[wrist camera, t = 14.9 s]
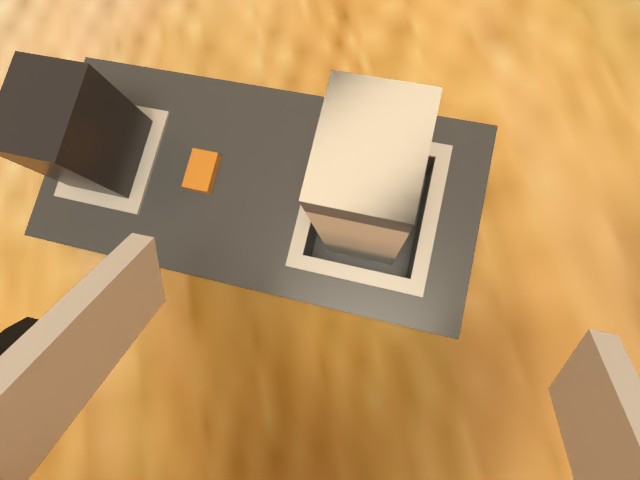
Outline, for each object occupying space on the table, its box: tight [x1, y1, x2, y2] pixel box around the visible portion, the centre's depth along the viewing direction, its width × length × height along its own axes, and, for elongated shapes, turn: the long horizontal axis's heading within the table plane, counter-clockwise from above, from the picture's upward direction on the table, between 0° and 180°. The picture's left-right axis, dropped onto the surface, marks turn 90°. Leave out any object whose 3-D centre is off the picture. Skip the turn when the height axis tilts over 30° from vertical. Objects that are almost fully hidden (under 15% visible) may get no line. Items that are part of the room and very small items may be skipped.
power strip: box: [0, 51, 497, 339], centre depth 23 cm, size 26×12×10 cm, turn 77°
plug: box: [299, 70, 443, 265], centre depth 20 cm, size 4×5×12 cm
